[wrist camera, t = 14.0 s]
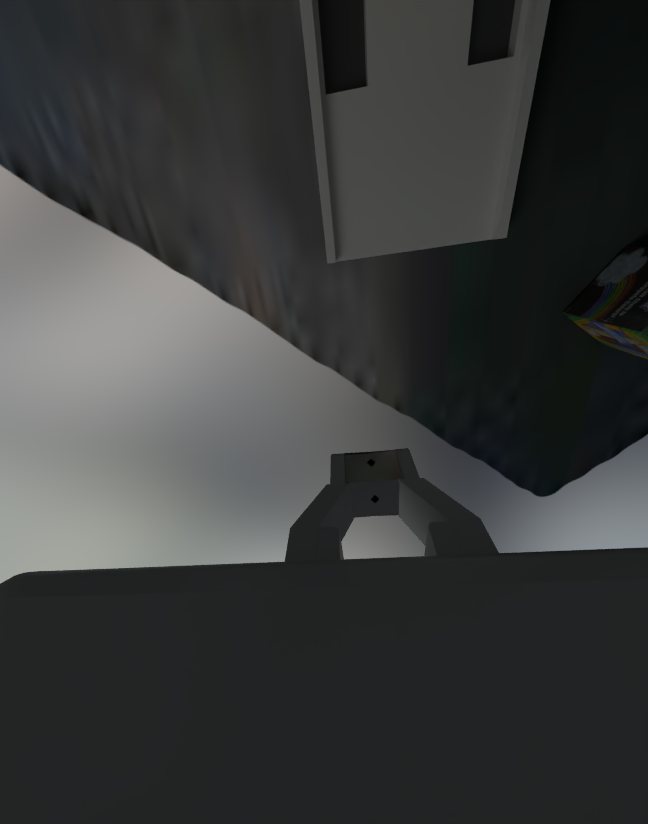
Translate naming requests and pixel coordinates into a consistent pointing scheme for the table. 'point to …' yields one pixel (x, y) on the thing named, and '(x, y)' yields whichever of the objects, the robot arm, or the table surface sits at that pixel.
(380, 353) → the table surface
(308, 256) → the table surface
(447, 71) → the box
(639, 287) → the chalk box
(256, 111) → the table surface
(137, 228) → the table surface
